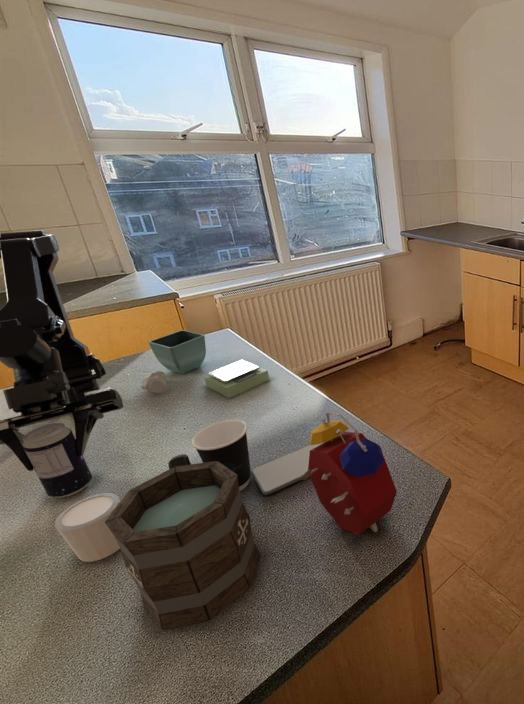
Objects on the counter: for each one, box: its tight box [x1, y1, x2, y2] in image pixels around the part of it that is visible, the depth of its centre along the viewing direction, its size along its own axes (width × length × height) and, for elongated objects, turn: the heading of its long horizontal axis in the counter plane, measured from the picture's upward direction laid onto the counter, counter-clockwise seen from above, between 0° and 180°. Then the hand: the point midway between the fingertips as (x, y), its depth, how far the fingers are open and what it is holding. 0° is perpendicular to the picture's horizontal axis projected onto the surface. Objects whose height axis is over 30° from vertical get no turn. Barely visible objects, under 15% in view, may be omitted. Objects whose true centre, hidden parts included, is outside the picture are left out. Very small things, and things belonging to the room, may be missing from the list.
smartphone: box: [250, 443, 323, 496], centre depth 81 cm, size 8×1×15 cm
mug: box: [105, 453, 261, 631], centre depth 59 cm, size 20×14×15 cm
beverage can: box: [23, 422, 93, 499], centre depth 72 cm, size 6×6×12 cm
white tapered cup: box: [54, 492, 121, 563], centre depth 63 cm, size 7×7×7 cm
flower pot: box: [147, 329, 207, 375], centre depth 112 cm, size 9×9×9 cm
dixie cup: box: [191, 419, 252, 492], centre depth 74 cm, size 8×8×11 cm
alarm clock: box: [301, 410, 398, 536], centre depth 66 cm, size 15×9×20 cm, turn 53°
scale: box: [203, 366, 270, 399], centre depth 107 cm, size 10×10×3 cm
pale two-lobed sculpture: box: [141, 370, 168, 394], centre depth 104 cm, size 4×8×5 cm
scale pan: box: [207, 359, 261, 383], centre depth 107 cm, size 8×8×1 cm
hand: (56, 462), depth 71 cm, fingers closed on beverage can, 5 cm apart
